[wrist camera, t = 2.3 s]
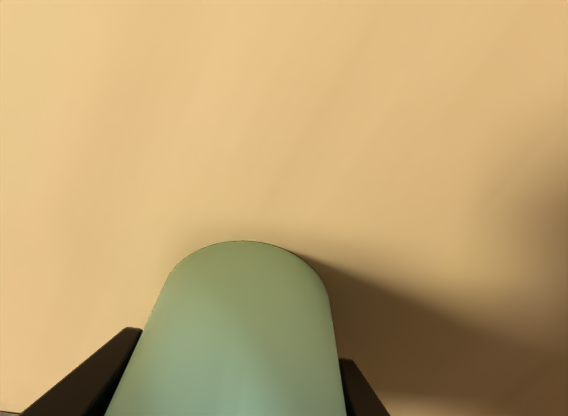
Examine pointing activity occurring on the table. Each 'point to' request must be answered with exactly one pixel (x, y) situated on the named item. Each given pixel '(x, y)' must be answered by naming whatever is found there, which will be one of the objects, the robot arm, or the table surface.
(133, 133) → the table surface
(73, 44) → the table surface
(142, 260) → the table surface
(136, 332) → the robot arm
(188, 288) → the teal cylinder
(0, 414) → the tote
